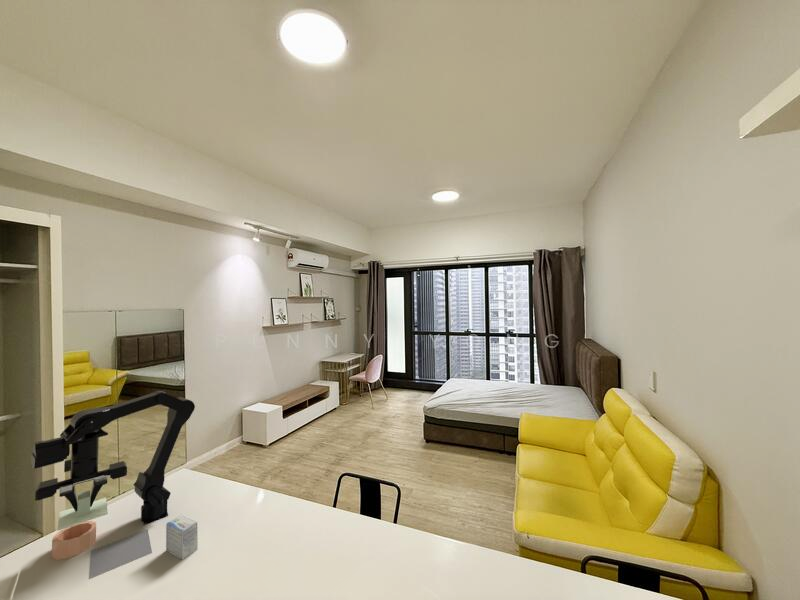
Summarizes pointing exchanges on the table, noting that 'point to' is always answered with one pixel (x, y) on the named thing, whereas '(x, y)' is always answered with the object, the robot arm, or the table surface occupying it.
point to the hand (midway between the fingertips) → (83, 508)
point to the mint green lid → (82, 511)
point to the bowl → (73, 540)
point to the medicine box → (182, 536)
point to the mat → (119, 553)
